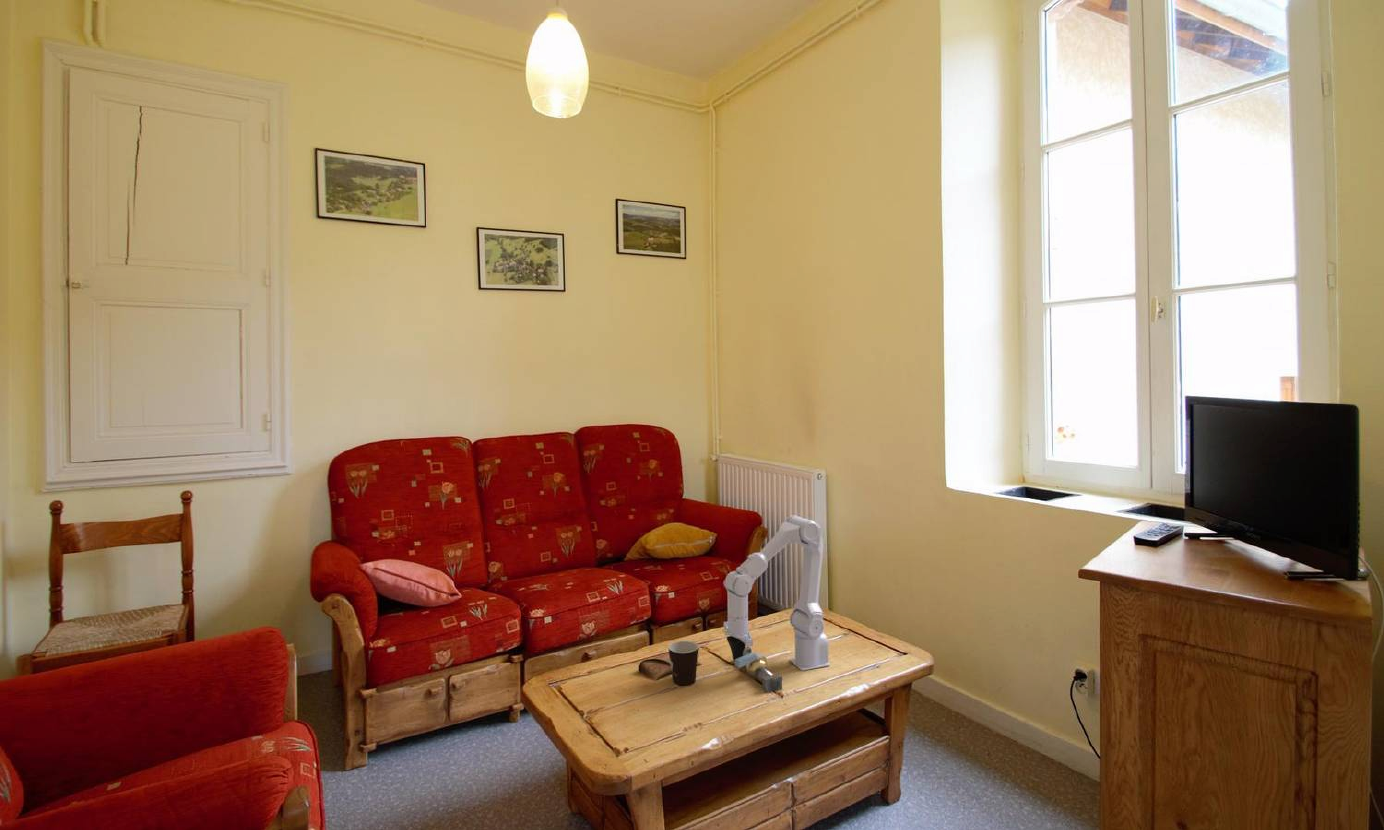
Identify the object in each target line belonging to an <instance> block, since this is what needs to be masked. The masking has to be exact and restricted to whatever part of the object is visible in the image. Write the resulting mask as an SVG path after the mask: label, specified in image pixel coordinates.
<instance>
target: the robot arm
mask: <svg viewBox="0 0 1384 830" xmlns="http://www.w3.org/2000/svg"><path fill="white" fill-rule="evenodd" d="M789 544H800V545H801V546H802V548H803V549H804V550H803V558H802V559H803V560H802V571H801V579H800V587H799V588H800V589H799V597H798V601H796V602H795V603H794V604H793V609H792V612H791V613H790V617H789V623H790V625H791V626H792V627H793V632H794V657H791V658H789V659H788V660H789V661H790V662H791V663H792V664H793V665H795V667H797V668H799V670H800V671H808V670H812V669H818V668H825V667H829V666H830V665H831V664H830V663H829V639H828V637H827V635H826V634H825V633H824V630H825V622H824V613H823V611H822V609H821V607H820V605H819V597H820V595H819V594H820V584H821V577H822V567H823V566H822V565H823V555H824V540H823V537H822V527H821V526H820V525H819V524H818V523H817V522H816V521H814V520H811V519H807V518H803V517H801V516H798V515H796V514H792V515H789V516H788V517H787V518H786V519H785V521H783V522H782V523H781V524H780V527H779V530H778V531H777V532H776V533H775V534H774V535H773V536H772V538H770V540H769V541H768V542H767V543H766V545H765V546H764V547H763V548H762V549H761V550H760V551H759V552H752V554H749V555H747V558H746V560H745V561H743V563H741V565H739V566H738V567H736V569H735V570H733V571H730V572H729V573H728V574H727V575H726V577H725V579H724V580H723V587H724V588H725V589H726V591H727V621H723V629H724V632H723V634H724V635H725V636H727V637H726V640H727V642H728V643H727V644H728V645H729V646H730V647H729V648H730V650H731V654H732V659H733V662H734V663H735V659H737V658H740V657H742V656H743V652H744V649H745V647H753V646H754V638H753V637H752V636H751V633H750V631H749V593H750V592H751V591H752V589H753V585H754V583H755V581H756V580H758V578H759V577H760V576H761V575H762V574H763V573H764V572H765V571H766V570H767V569H768V568H769V561H770V560H771V559H772V558H774V557H775V556H776V555H777V554H778V553H779V552H780V551H782V550H783V549H784V548H785V547H786V546H788V545H789Z"/></svg>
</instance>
